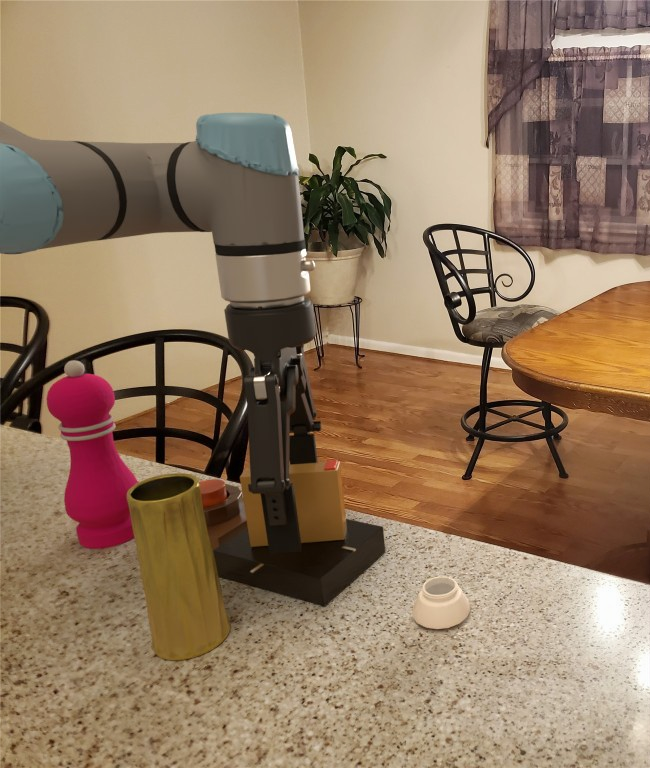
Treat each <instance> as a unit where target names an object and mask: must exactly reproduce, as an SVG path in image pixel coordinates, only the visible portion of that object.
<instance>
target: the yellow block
mask: <svg viewBox="0 0 650 768" xmlns="http://www.w3.org/2000/svg"><path fill="white" fill-rule="evenodd" d="M289 480H290V483H293V485H294V493H295V500H296V508H297V515H298V523H299V530H300V538H301V543H308V542H321V541H333V540H345V536H346V531H347V523H346V519H347V516H346V507H345V497H344V496H345V495H344V488H343V478H342V469H341V461H338V459H328V460H326V461H325V462H323V461H322V462H318V463H307V464H292V465H290V464H289ZM239 481H240V487H241V491H242V496H243V500H244V507H245V513H246V519H247V526H248V532H249V538H250V545H251V547H257V546H268V541H267V534H266V527H265V521H264V514H263V507H262V501H261V494H252V492H249V489H248V484H251V475H250V466H248V467H245V468H244V469H243V471H242V473H241V475H239Z"/></svg>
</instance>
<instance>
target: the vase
mask: <svg viewBox="0 0 650 768" xmlns="http://www.w3.org/2000/svg"><path fill="white" fill-rule="evenodd" d="M199 482H200V481H199V479H198V477H196V476H195V475H193V474H190V473H183V472H175V473H166V474H165V473H164V474H160V475H157V476H152V477H148V478H146V479H143V480H141V481H138V483H137V484H135V485H134V486H133V487H131V488H130V489H129V490H128V492H127V502H128V505H129V510H130V515H131V521H132V527H133V532H134V542H135V548H136V554H137V559H138V565H139V571H140V577H141V582H142V588H143V592H144V593H143V594H144V599H145V603H146V610H147V617H148V622H149V629H150V635H151V648H152V651H153V652H154V654H155V655H156V656H157V657H158V658H160V659H163V660H167V661H187V660H190V659H194V658H197V657H200V656H202V655H205V654H207V653H210V652H211V651H212V650H214V649H215V648H218V647H219V646H220V645H221V644H222V643H223V642H224V641H225V639H227V637H228V635H229V633H230V631H231V622H230V619H229V617H228V615H227V612H226V606H225V601H224V596H223V591H222V586H221V582H220V578H219V577H218V572H217V567H216V562H215V558H214V553H213V549H212V546H211V543H210V539H209V536H208V532H207V526H206V520H205V515H204V510H203V505H202V498H201V489H200V484H199Z"/></svg>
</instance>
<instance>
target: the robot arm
mask: <svg viewBox="0 0 650 768" xmlns="http://www.w3.org/2000/svg"><path fill="white" fill-rule="evenodd" d="M195 127H196V130H195V131H196V135H195V140H193V141H188V142H139V143H138V142H113V141H112V142H109V141H108V142H107V141H81V140H59V139H58V140H57V139H40V138H36V137H32V136H30V135H27V134H26V133H23V132H21V131H20V130H19V129H16V128H15V127H13V126H11V125H9V124H7V123H5V122H3V121H1V120H0V254H1V255H21V254H25V253H26V254H27V253H30V252H31V253H32V252H35V251H38V250H44V249H51V248H58V247H63V246H69V245H70V246H71V245H75V244H82V243H88V242H97V241H107V240H113V239H122V238H129V237H137V236H143V235H151V234H161V233H162V234H163V233H211V235H212V243H213V245H214V252H215V261H216V267H217V275H218V281H219V288H220V289H219V290H220V297H221V298H222V299H223V301H226V302H229V303H228V304H227V305H226V306H225V308H224V310H223V311H224V318H225V324H226V331H227V338H228V342H229V344H230V346H231V347H233V348H234V349H236V350H240V351H248V352H250V353H251V354H253V356H254V357H253V361H254V362H253V367H250V375H244V378H243V386H244V392H245V399H246V409H247V411H246V412H247V429H248V431H247V432H248V450H249V451H248V453H249V467H250V475H251V484H248V489H249V492H252V494H261V501H262V507H263V514H264V521H265V527H266V534H267V541H268V547H269V554H280V553H293V552H300V551H301V548H302V546H301V538H300V530H299V523H298V515H297V508H296V500H295V493H294V485H293V483H290V480H289V465H292V464H307V463H319V461H318V452H317V444H316V437H315V436H316V435H315V433H316V432H321V431H322V421H321V420H316V419H317V417H318V414H317V411H316V407H315V402H314V397H313V392H312V387H311V383H310V377H309V373H308V368H307V363H306V358H305V350H304V349H305V348H304V347H305V345H306V344H309V343H311V342H312V341H313V340H314V339H315V337H316V335H317V329H316V321H315V320H316V319H315V312H314V311H315V310H314V304H313V303H314V302H313V301H311V299H310V298H308V297H306V296H307V295H308V294H309V293H310V292H311V282H310V273H309V272H314V270H315V269H316V264H315V262H314V260H313V259H306V257H307V249H306V248H307V247H306V246H307V245H306V238H305V233H304V221H303V220H304V219H303V212H302V201H301V191H300V181H299V175H300V173H301V171H300V167H299V166H298V161H297V157H296V156H297V155H296V150H295V145H294V138H293V134H292V133H293V132H292V129H291V126H290V124H289V123H288V122H287V120H286V119H285V118H283V117H282V116H279V115H276V114H273V113H260V112H218V113H210V114H208V113H207V114H203V115H200V116H199V117H198V118H197V120H196V123H195ZM290 434H291V435H290Z"/></svg>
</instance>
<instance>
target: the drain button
mask: <svg viewBox="0 0 650 768" xmlns="http://www.w3.org/2000/svg"><path fill="white" fill-rule="evenodd" d="M199 484H200V489H201V498H202V505H203V507H204V506H211V505H214V504H218V503H221V502H222V501H224V500H226V499H227V492H226V486H225V484H226V482H225V481H224V480H223V479H216V478H213V479H205V480H201V481H199Z"/></svg>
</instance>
